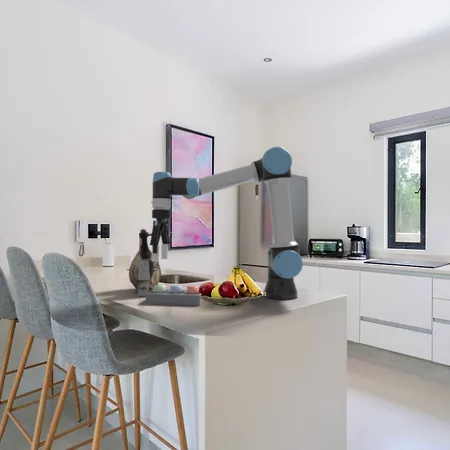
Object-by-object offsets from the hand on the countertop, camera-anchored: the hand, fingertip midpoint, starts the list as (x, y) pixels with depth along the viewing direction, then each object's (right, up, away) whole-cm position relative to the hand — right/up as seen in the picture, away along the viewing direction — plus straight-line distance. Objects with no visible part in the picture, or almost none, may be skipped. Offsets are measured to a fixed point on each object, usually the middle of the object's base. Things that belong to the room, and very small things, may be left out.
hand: (160, 260), depth 148 cm
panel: (+7, -17, -1) cm, 18 cm away
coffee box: (-8, -17, +13) cm, 23 cm away
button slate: (+7, -15, -1) cm, 16 cm away
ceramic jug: (-12, -17, +24) cm, 32 cm away
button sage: (0, -15, 0) cm, 15 cm away
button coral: (+14, -15, -2) cm, 20 cm away
